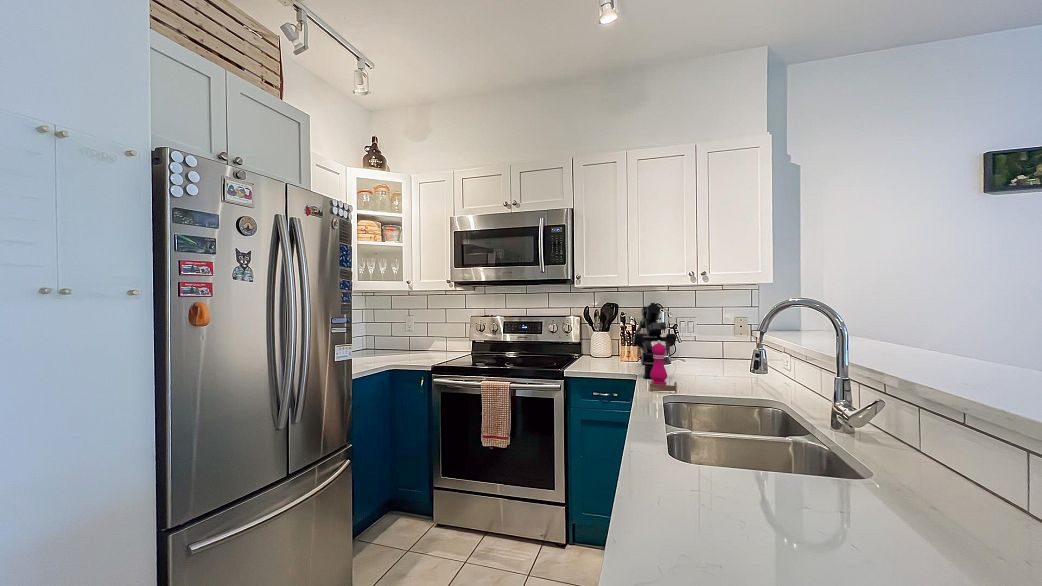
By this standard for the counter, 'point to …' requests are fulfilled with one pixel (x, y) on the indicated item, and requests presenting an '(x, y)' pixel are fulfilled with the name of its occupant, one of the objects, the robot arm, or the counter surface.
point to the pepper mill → (658, 364)
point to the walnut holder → (662, 387)
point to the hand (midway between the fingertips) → (657, 354)
